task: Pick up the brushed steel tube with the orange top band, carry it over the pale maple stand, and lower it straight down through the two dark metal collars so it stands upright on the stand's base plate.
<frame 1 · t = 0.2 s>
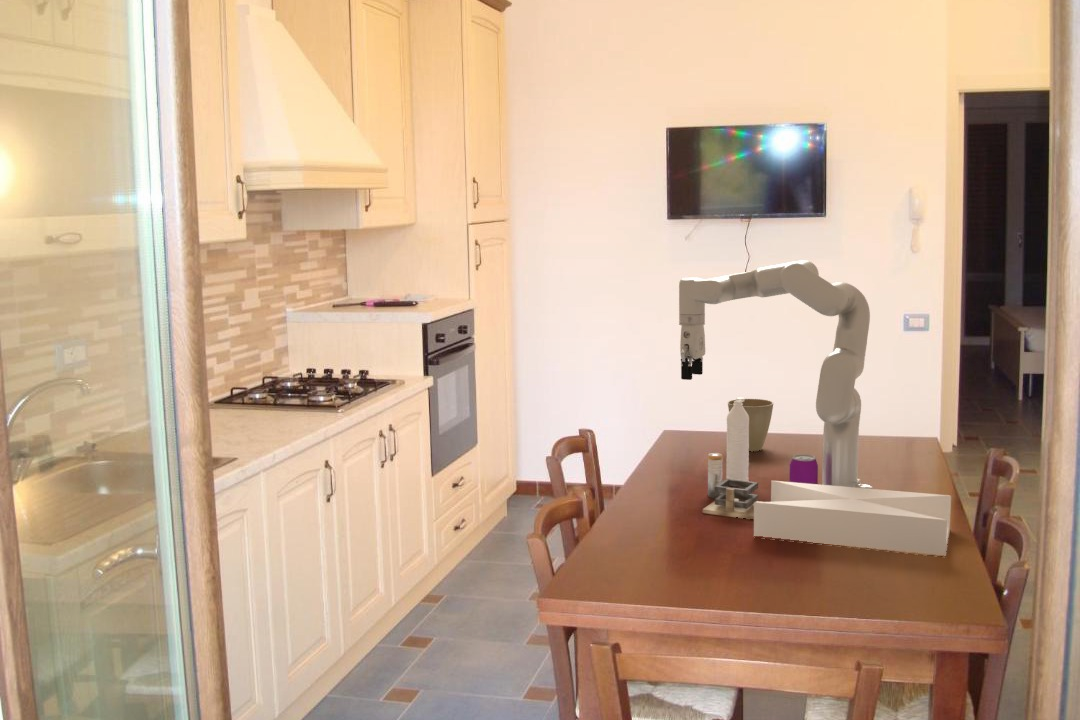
hand: (692, 376, 323), 31 cm above the table, tool pointing down, fingers open, 9 cm apart
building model: (852, 536, 272), on the table
water bottle: (737, 483, 321), on the table
collar stand: (736, 509, 295), on the table
steel tube: (715, 495, 308), on the table
beverage can: (803, 499, 304), on the table
plant pot: (749, 449, 363), on the table
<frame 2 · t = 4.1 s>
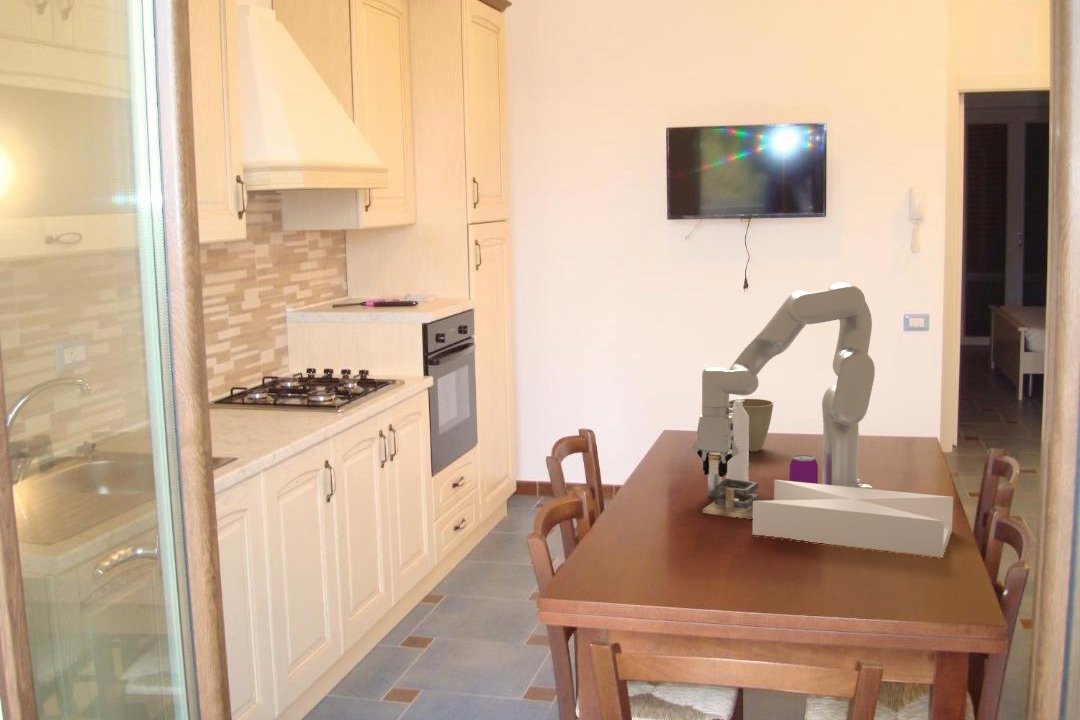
hand: (715, 474, 307), 6 cm above the table, tool pointing down, fingers closed on steel tube, 4 cm apart
steel tube: (715, 495, 308), on the table, touching gripper
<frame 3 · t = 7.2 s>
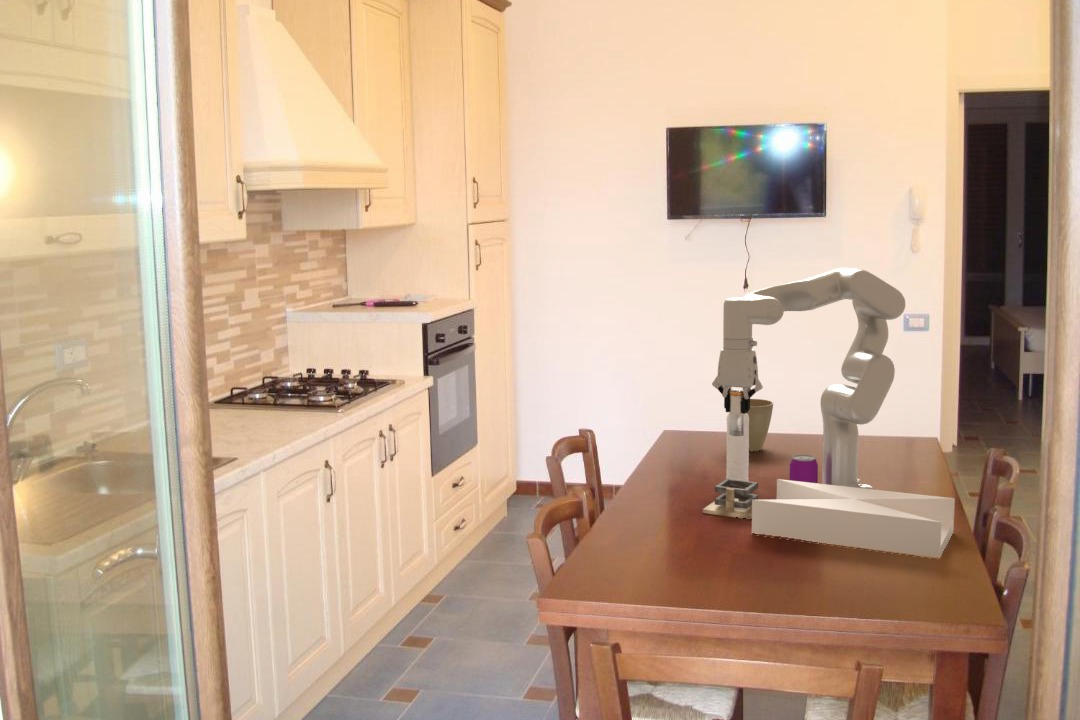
hand: (737, 411, 291), 27 cm above the table, tool pointing down, fingers closed on steel tube, 4 cm apart
steel tube: (736, 434, 292), point 21 cm above the table, touching gripper
when the fingers open (9 cm above the table, at t = 10.3 s): steel tube drops 1 cm, resting on collar stand.
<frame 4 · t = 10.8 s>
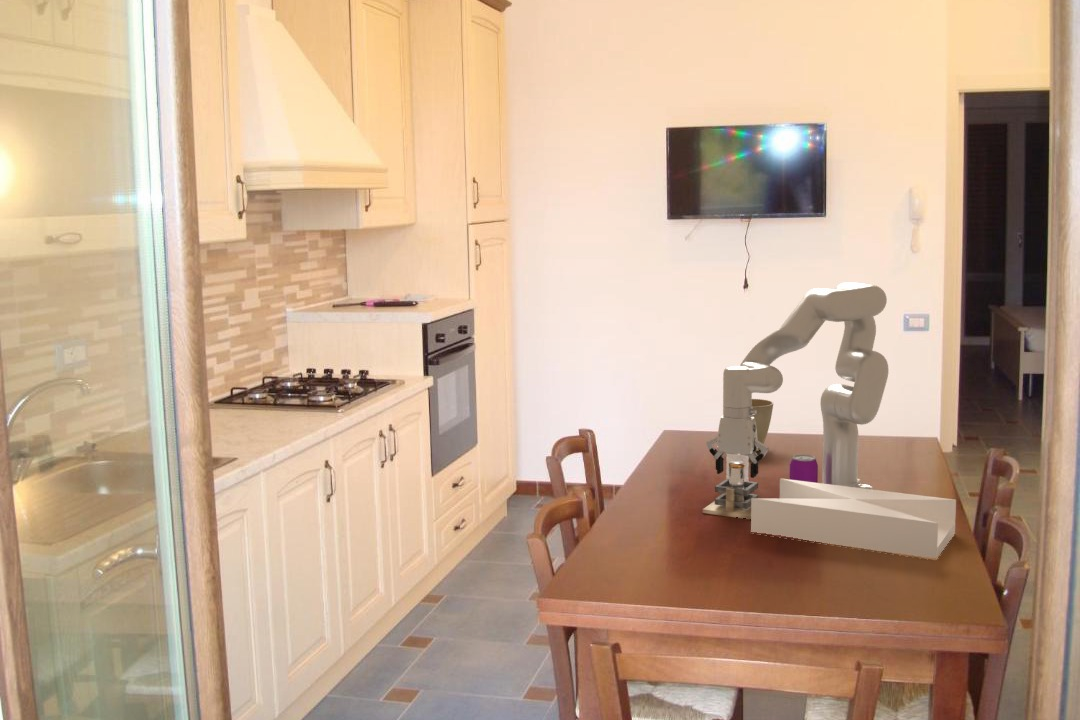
hand: (736, 474, 293), 10 cm above the table, tool pointing down, fingers open, 9 cm apart
steel tube: (736, 505, 295), point 1 cm above the table, touching collar stand
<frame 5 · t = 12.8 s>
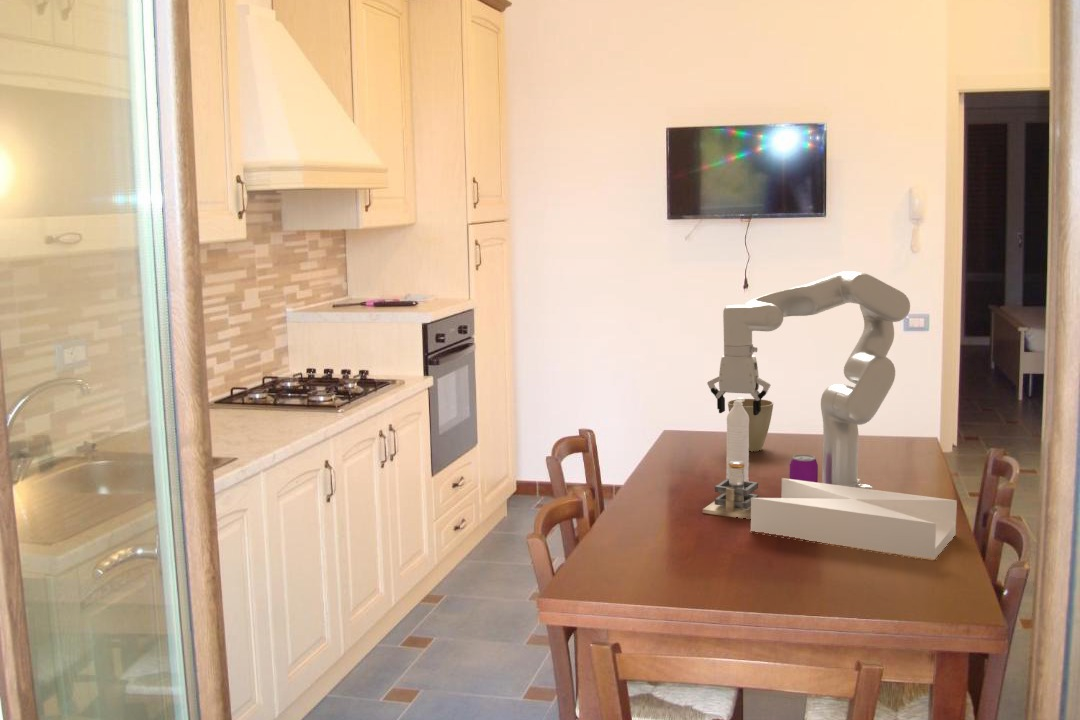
hand: (739, 413, 294), 26 cm above the table, tool pointing down, fingers open, 9 cm apart
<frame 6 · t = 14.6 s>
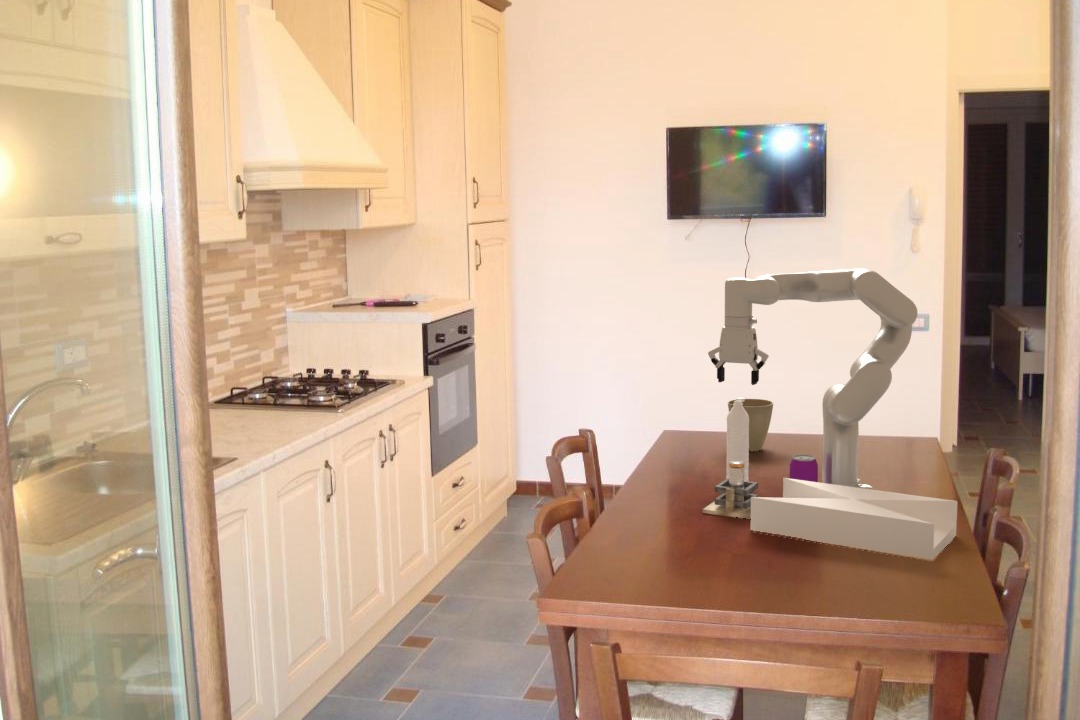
hand: (737, 382, 304), 32 cm above the table, tool pointing down, fingers open, 9 cm apart
at the end: steel tube 0.0 cm off-centre on the collar stand, point 1.0 cm above the collar stand's base; steel tube tilted 0°; the gripper is holding nothing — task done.
